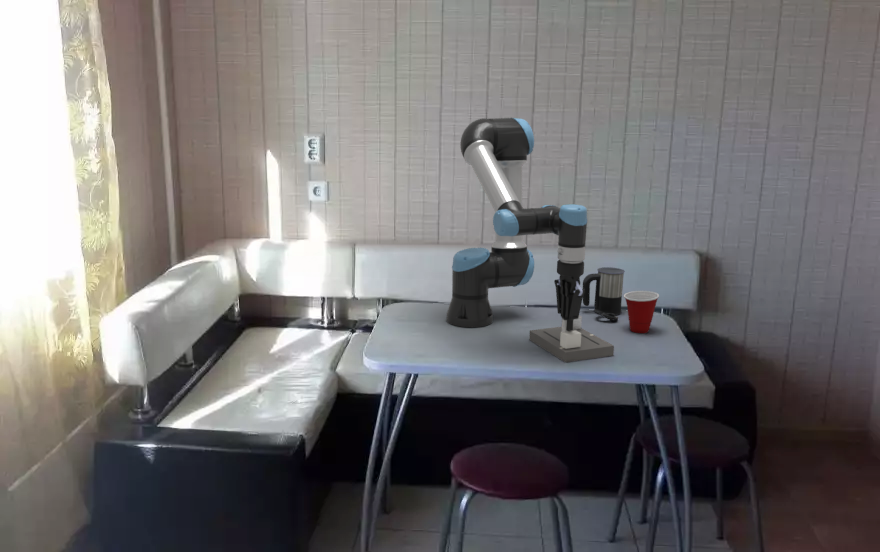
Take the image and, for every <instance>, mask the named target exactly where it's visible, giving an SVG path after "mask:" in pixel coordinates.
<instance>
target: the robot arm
mask: <svg viewBox="0 0 880 552" xmlns="http://www.w3.org/2000/svg"><path fill="white" fill-rule="evenodd" d="M459 147H460V152H461V155H462V157H463V159H464V161H465V163H467V164H468V165H470V166H471V168H472V169H473V172H474V173H475V175H476V178H477V179H478V181H479V183H480V184H481V185H480V186H482V189H483V191H484V193H485V194H486V197H487V199H488V202H490V204H491V206H492V209H493V211H494V212H495V213H494V214H493V218H492V225H493V229H494V231H495V241H494V242H493V243H492V244H491V251H490V250H489V249H487V248H485V247H471V248H470V247H469V248H464V249H462V250H459V251H457V252H456V253H455V254H454V255H453V259H452V265H451V269H452V284H451V285H452V289H451V290H452V291H451V292H452V293H451V295H452V296H451V300H450V302H449V305H448V308H447V311H446V322H447V323H448V324H450V325H452V326H455V327H461V328H480V327H481V328H482V327H486V326H490V325H491V324H492V323H493V322H494V315H493V311H492V307H491V304H490V301H489V289H495V288H498V289H499V288H505V287H506V288H507V287H514V288H515V287H519V286H524V285H527V284H528V283H529V282H530V280H531V278H532V277H533V275H534V270H535V259H534V254H533V252H532V250H529V249H528V245H527V244H526V242H524V240H523V236H529V235H531V236H532V235H544V234H547V235H549V234H552V235H556V236H558V239H557V241H558V242H557V243H558V244H557V245H558V246H557V259H558V260H557V262H556V273H557V274H558V275H559V277H558V279H554V285H555V294H556V309H557V313H558V314H559V315H560V317H561V327H562V332H567V331H572V330H573V320H574V319H578V317H579V315H580V312H581V308H582V307H581V306H582V304H583V295H584V293H585V289H583V288H582V287H581V286H580V285H581V281H580V280H581V279H580V277H582V276H583V275H584V272H585V262H584V261H585V259H586V241H587V240H586V239H587V228H588V227H587V226H588V225H587V223H588V209H587V207H586V206H584V205H582V204H573V203H572V204H570V203H569V204H563V205H561V206H560V207H559V206H556V205H554V204H552V205H551V204H545V205H541V206H540V207H529V208H528V207H527V208H523V167H524V164H525V163H526V162H528V156H529V155H531V154H532V153H533V151H534V147H535V136H534V133H533V129H532V127H531V125H530V123H529V122H528V121H527V120H525V119H524V118H515V117H510V118H509V117H507V118H506V117H504V118H503V117H501V118H495V117H494V118H485V117H484V118H479V119H475V120H473V121H472V122H471V123H469V124H468V125H467V127H465V129H464V130H463V132H462V134H461V137H460V146H459Z"/></svg>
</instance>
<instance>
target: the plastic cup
mask: <svg viewBox="0 0 880 552" xmlns="http://www.w3.org/2000/svg"><path fill="white" fill-rule="evenodd" d="M659 297H660V294H659V293H658V292H654V291H651V290H650V291H649V290H632V291H629V292H626V293H624V294H623V298H624V299H625V302H626V306H627V316H628V317H627V318H628V321H629V322H628V323H629V329H630V331H631V332H632V333H636V334H646V333H648V332H650V328H651V323H652V321H653V317H654V313H655V309H656V306H657V302H658V299H659Z"/></svg>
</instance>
